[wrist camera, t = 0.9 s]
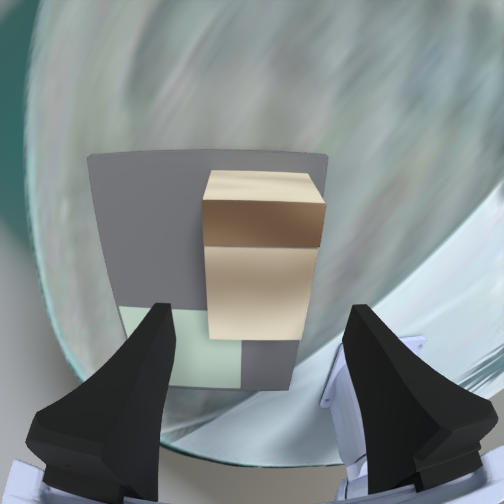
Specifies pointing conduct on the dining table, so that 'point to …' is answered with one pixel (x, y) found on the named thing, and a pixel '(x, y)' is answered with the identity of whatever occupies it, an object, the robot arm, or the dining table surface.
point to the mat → (183, 256)
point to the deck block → (260, 252)
